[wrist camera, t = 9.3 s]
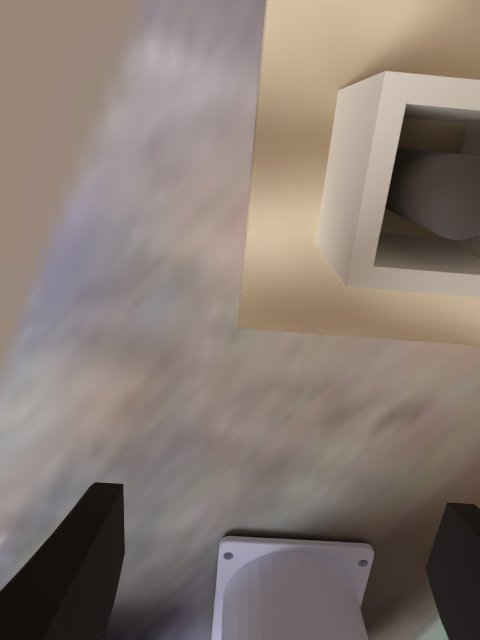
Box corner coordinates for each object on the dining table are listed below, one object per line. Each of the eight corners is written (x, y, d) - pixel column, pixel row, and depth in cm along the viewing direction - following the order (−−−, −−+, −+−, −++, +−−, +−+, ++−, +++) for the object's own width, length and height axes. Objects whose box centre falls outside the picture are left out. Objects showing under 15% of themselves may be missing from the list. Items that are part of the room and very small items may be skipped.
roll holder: (473, 333, 19) (574, 418, 14) (238, 316, 19) (239, 397, 13) (576, -5, 15) (794, -92, 9) (268, -36, 14) (290, -148, 9)
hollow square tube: (450, 254, 17) (531, 301, 12) (315, 243, 16) (346, 286, 12) (489, 105, 15) (604, 92, 10) (338, 90, 15) (385, 70, 10)
